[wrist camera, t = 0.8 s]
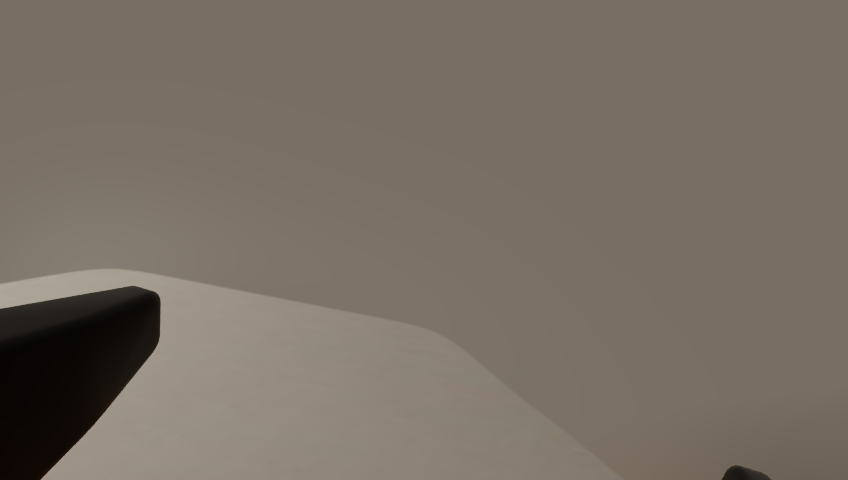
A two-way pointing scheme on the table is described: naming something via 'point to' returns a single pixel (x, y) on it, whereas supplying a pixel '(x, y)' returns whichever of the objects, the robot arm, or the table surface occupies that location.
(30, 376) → the robot arm
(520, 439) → the table surface
